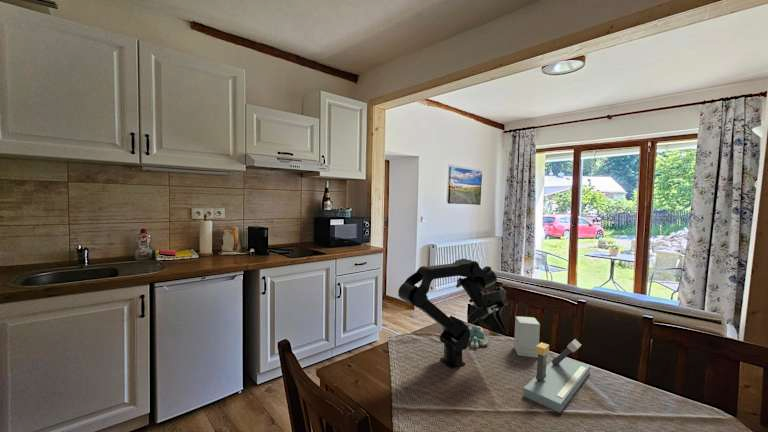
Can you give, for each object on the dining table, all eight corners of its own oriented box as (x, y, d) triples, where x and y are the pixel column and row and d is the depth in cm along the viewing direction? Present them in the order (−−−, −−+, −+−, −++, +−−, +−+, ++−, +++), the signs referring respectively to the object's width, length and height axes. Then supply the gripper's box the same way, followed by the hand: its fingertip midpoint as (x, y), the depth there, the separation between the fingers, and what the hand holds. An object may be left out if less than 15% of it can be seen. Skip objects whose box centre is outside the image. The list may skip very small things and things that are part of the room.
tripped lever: (534, 380, 98) (536, 346, 97) (539, 375, 101) (541, 342, 100) (542, 383, 96) (544, 348, 95) (547, 378, 99) (549, 344, 98)
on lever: (549, 361, 108) (571, 342, 103) (553, 357, 111) (575, 338, 106) (555, 367, 106) (578, 348, 102) (559, 363, 109) (581, 344, 104)
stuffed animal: (460, 334, 124) (463, 318, 135) (459, 350, 126) (463, 333, 137) (489, 339, 121) (490, 322, 132) (488, 355, 122) (489, 337, 133)
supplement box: (538, 358, 118) (540, 324, 117) (517, 355, 119) (519, 322, 118) (533, 349, 125) (535, 317, 124) (513, 346, 126) (515, 315, 126)
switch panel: (523, 396, 94) (523, 387, 94) (557, 361, 115) (557, 354, 115) (560, 412, 87) (560, 403, 87) (589, 373, 108) (590, 365, 108)
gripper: (477, 284, 103) (509, 328, 95) (504, 275, 116) (534, 314, 109) (455, 302, 109) (484, 345, 102) (483, 292, 122) (510, 329, 115)
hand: (504, 332), depth 106 cm, fingers closed
